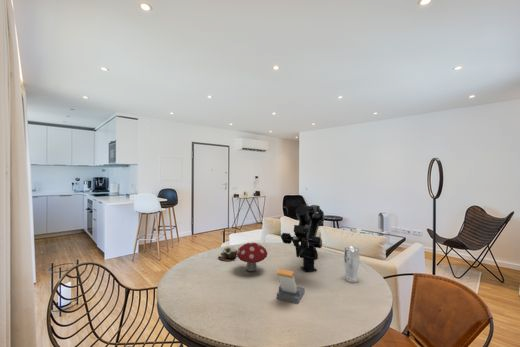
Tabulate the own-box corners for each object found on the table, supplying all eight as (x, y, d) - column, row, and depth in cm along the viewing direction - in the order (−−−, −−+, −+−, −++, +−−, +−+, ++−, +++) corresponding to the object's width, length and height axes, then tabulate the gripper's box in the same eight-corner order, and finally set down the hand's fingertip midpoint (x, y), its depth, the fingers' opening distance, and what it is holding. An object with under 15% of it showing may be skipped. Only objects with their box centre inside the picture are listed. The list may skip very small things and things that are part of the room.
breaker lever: (283, 287, 101) (278, 268, 96) (297, 290, 99) (293, 271, 93) (282, 292, 100) (277, 272, 94) (296, 295, 97) (291, 275, 92)
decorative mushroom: (273, 271, 125) (273, 242, 125) (251, 281, 114) (252, 249, 114) (251, 263, 136) (251, 236, 136) (229, 271, 124) (230, 242, 124)
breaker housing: (284, 288, 107) (284, 279, 107) (304, 292, 103) (304, 283, 103) (276, 298, 98) (276, 288, 98) (298, 303, 94) (298, 293, 94)
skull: (214, 259, 139) (218, 242, 146) (219, 266, 147) (223, 250, 153) (234, 260, 136) (237, 243, 143) (238, 267, 144) (241, 251, 151)
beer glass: (360, 283, 112) (360, 251, 112) (344, 282, 113) (345, 250, 113) (357, 277, 119) (357, 247, 119) (342, 276, 120) (343, 246, 120)
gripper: (282, 216, 118) (273, 244, 108) (320, 219, 110) (315, 251, 100) (287, 228, 125) (279, 256, 115) (323, 233, 117) (319, 263, 107)
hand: (297, 256), depth 109 cm, fingers closed
